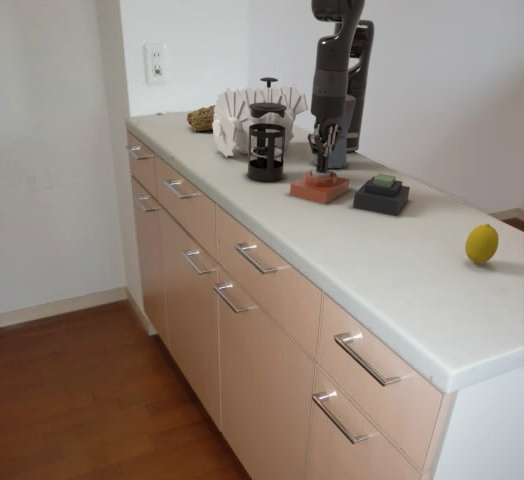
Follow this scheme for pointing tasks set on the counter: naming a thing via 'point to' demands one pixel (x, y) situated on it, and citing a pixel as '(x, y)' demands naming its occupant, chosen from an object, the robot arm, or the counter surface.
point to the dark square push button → (381, 198)
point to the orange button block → (319, 187)
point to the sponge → (201, 118)
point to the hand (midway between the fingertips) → (321, 171)
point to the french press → (268, 167)
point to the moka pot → (341, 136)
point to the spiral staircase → (239, 117)
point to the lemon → (481, 243)
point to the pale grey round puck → (321, 174)
